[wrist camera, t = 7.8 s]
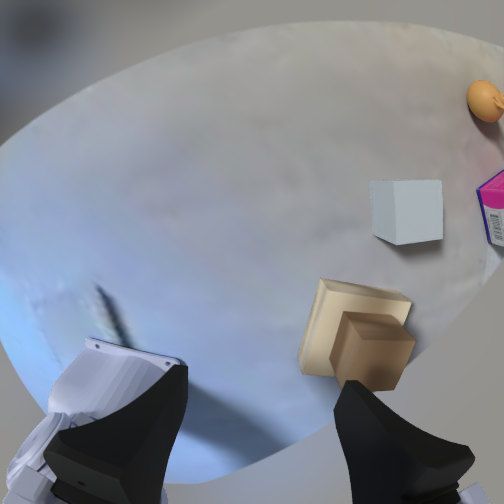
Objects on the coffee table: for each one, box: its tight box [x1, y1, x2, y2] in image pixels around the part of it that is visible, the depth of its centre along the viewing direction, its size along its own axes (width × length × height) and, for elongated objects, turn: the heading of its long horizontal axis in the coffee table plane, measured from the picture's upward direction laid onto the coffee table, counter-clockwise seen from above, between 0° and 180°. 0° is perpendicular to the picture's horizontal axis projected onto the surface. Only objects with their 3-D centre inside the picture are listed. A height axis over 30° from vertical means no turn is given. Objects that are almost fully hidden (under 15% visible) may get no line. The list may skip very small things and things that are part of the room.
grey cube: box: [369, 179, 443, 245], centre depth 17 cm, size 4×4×4 cm
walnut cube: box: [329, 311, 416, 392], centre depth 17 cm, size 4×4×4 cm
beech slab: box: [298, 278, 411, 377], centre depth 20 cm, size 7×7×3 cm
